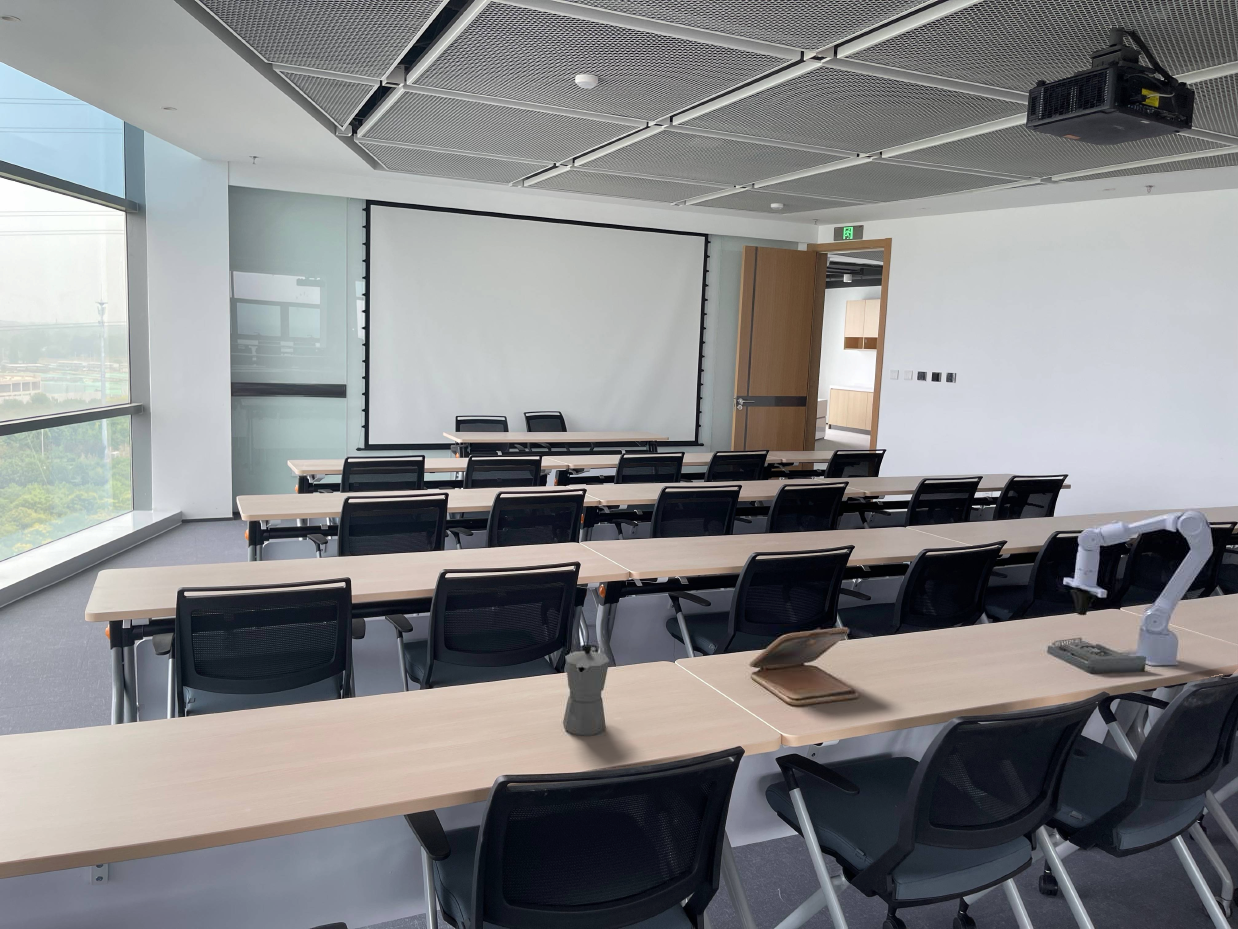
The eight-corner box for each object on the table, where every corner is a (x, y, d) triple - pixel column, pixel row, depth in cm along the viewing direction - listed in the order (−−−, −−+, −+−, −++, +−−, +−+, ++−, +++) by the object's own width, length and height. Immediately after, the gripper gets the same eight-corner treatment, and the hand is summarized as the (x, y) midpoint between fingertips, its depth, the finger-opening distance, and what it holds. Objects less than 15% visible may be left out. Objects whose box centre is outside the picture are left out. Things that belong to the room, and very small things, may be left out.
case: (813, 668, 217) (817, 608, 215) (863, 699, 197) (868, 634, 195) (744, 676, 209) (748, 614, 207) (790, 709, 190) (794, 642, 188)
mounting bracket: (1098, 650, 241) (1100, 637, 240) (1144, 671, 225) (1146, 657, 225) (1047, 652, 237) (1048, 639, 237) (1090, 673, 221) (1092, 659, 221)
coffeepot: (600, 743, 168) (604, 657, 166) (555, 737, 169) (558, 653, 167) (612, 712, 183) (616, 633, 181) (571, 707, 184) (574, 629, 182)
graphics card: (1049, 639, 239) (1079, 635, 244) (1048, 652, 240) (1078, 648, 244) (1100, 660, 224) (1132, 656, 228) (1099, 674, 224) (1131, 669, 229)
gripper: (1056, 563, 248) (1051, 607, 250) (1094, 576, 234) (1088, 622, 236) (1076, 563, 250) (1071, 607, 252) (1115, 575, 236) (1109, 621, 238)
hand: (1081, 614), depth 244 cm, fingers closed
